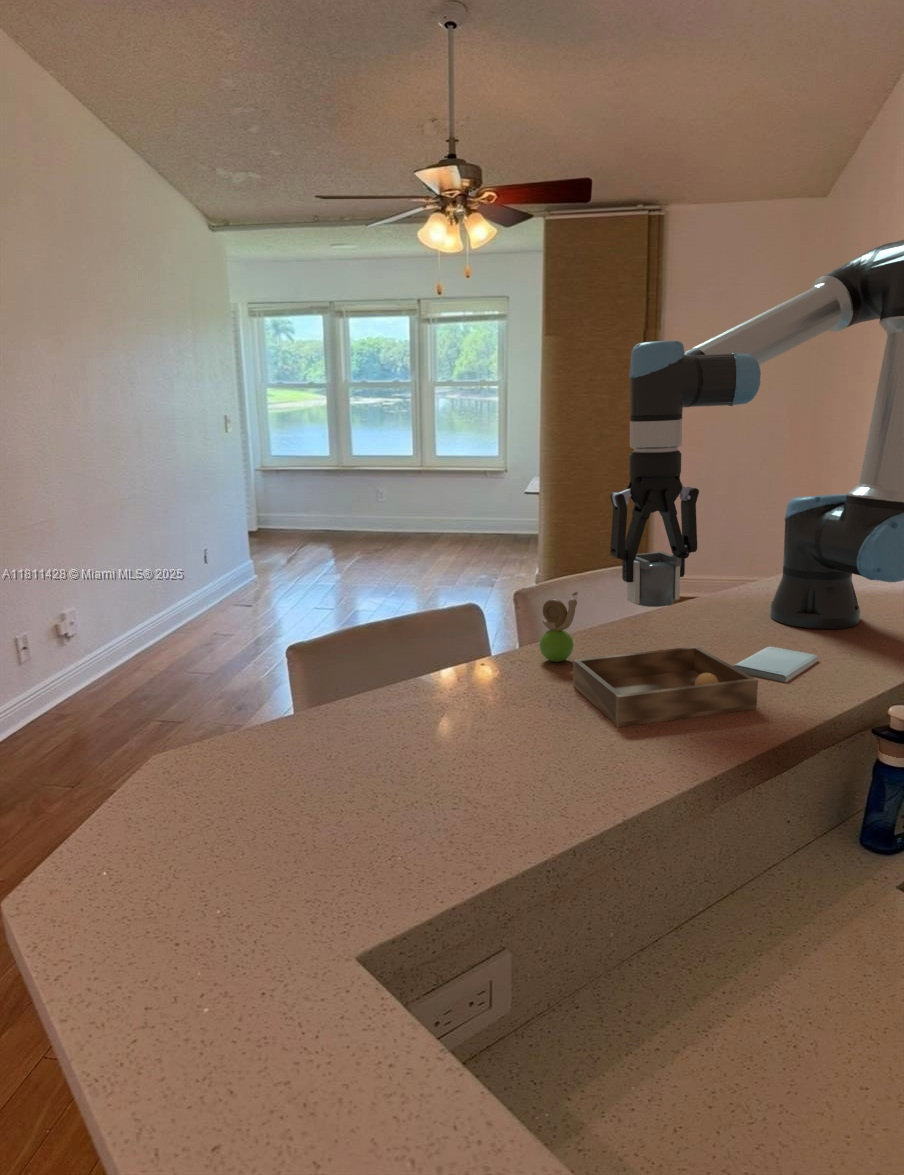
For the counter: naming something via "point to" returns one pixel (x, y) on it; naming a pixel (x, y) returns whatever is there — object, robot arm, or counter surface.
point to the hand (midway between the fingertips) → (653, 599)
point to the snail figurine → (557, 629)
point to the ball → (706, 679)
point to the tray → (662, 685)
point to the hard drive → (776, 663)
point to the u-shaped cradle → (656, 578)
